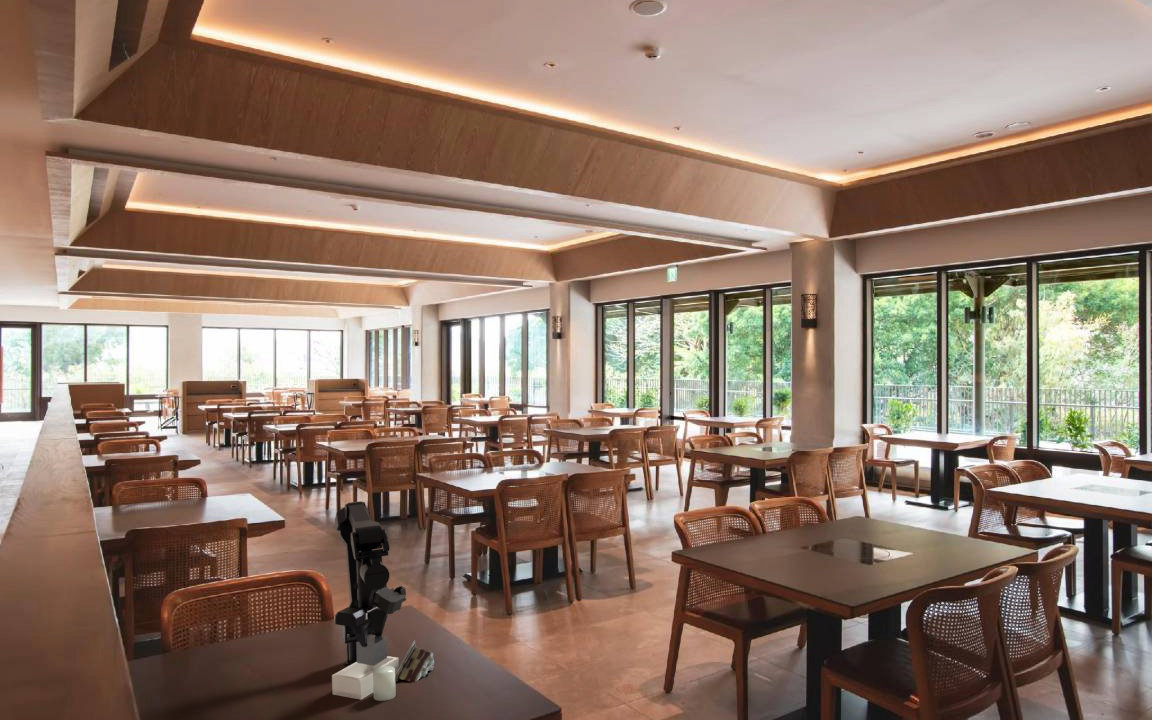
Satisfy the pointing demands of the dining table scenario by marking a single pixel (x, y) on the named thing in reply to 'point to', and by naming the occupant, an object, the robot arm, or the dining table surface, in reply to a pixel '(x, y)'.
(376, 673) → the white pillar candle
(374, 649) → the iron block
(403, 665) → the chocolate cake
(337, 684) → the tote
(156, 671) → the dining table surface
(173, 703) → the dining table surface
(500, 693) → the dining table surface
